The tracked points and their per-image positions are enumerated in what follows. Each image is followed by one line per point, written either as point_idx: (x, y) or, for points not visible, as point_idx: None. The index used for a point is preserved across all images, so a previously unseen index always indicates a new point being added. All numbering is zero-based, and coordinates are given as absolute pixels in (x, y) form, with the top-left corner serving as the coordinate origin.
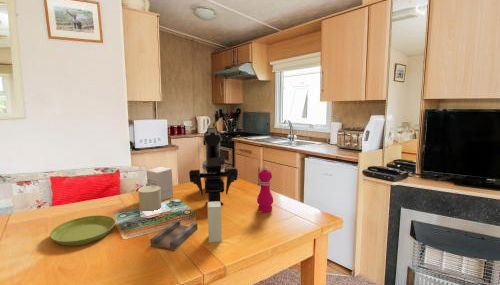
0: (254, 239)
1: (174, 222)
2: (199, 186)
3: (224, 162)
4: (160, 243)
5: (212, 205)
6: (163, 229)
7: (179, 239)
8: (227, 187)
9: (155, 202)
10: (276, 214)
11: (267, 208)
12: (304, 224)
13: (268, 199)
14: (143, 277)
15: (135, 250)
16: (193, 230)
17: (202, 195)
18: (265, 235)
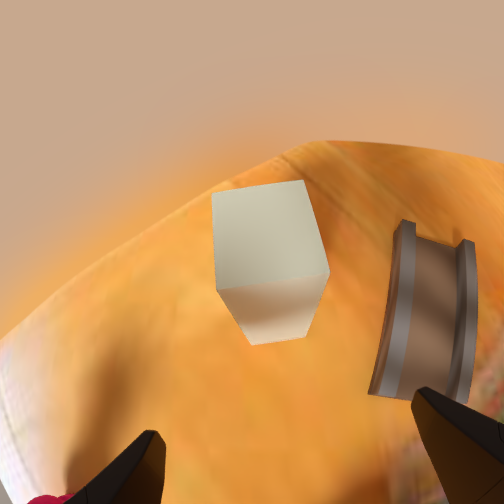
0: (130, 303)
1: (467, 375)
2: (494, 424)
3: None
4: (447, 259)
5: (274, 206)
6: (477, 309)
7: (399, 252)
8: (115, 471)
9: None
10: (51, 466)
11: (66, 497)
12: (7, 371)
13: (37, 500)
14: (396, 150)
15: (479, 235)
16: (379, 358)
17: (414, 394)
18: (95, 326)
